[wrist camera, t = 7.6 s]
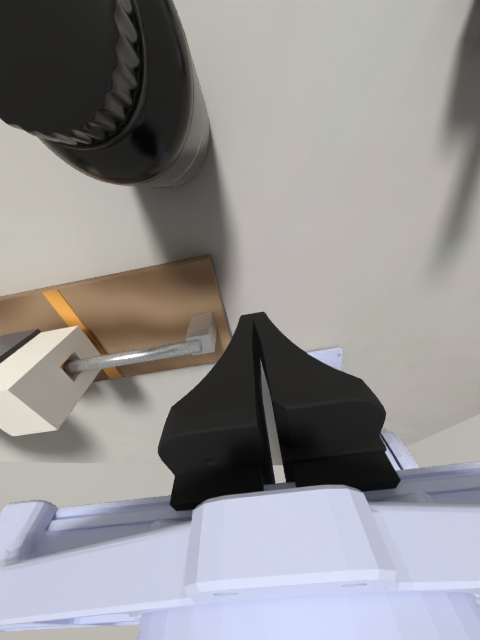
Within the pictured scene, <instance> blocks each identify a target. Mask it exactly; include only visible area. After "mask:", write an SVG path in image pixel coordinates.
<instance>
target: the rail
mask: <svg viewBox="0 0 480 640" xmlns="http://www.w3.org/2000/svg"><path fill="white" fill-rule="evenodd" d="M216 333H217V324H216V321H215V317H214V314H213V311H212V310H211V311H205V312H199V313H194V314H193V315H192V318H191V322H190V325H189V328H188V331H187V335H186V338H185V339H186V341H181V342H176V343H170V344H164V345H158V346H152V347H146V348H140V349H134V350H129V351H123V352H117V353H111V354H105V355H99V356H93V357H87V358H82V359H76V360H66V361H65V362H64V363H63V364H62V365H61V366H60V368H61V369H62V370H63V371H64V372H65V373H66V374H67V375H71V374H73V373H78V372H84V371H90V370H96V369H102V368H109V367H115V366H121V365H127V364H133V363H139V362H145V361H151V360H157V359H163V358H169V357H175V356H181V355H188V354H192V355H199V354H205V353H211V352H214V351H215V342H216Z"/></svg>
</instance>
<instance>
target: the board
mask: <svg viewBox="0 0 480 640" xmlns="http://www.w3.org/2000/svg"><path fill="white" fill-rule="evenodd" d="M211 310H212V311H213V314H214V317H215V321H216V324H217V333H216V342H215V351H214V352H211V353H205V354H199V355H192V354H188V355H181V356H175V357H169V358H163V359H157V360H151V361H145V362H139V363H133V364H127V365H121V366H115V367H109V368H102V369H101V370H100V372H99V373H98V375H97V376H96V377H95V379H94V380H93V382H95V381H101V380H107V379H117V378H122V377H126V376H132V375H138V374H145V373H151V372H157V371H163V370H170V369H176V368H182V367H188V366H195V365H201V364H207V363H213V362H218V360H219V359H220V358H221V356H222V355H223V353H224V351H225V350H226V348H227V346H228V344H229V343H230V341H231V339H232V335H231V331H230V327H229V323H228V319H227V316H226V312H225V308H224V304H223V301H222V297H221V293H220V289H219V286H218V282H217V278H216V274H215V271H214V267H213V263H212V259H211V256H210V254H209V255H204V256H199V257H195V258H190V259H185V260H180V261H175V262H170V263H165V264H160V265H155V266H150V267H145V268H140V269H135V270H130V271H125V272H120V273H115V274H110V275H105V276H100V277H95V278H90V279H86V280H81V281H76V282H71V283H66V284H61V285H56V286H51V287H46V288H41V289H36V290H31V291H26V292H21V293H16V294H11V295H6V296H1V297H0V337H1V336H3V335H6V334H11V333H17V332H22V331H27V330H33V329H39V330H40V331H41V332H46V331H51V330H57V329H62V328H68V327H73V326H79V327H80V328H81V329H82V331H83V332H84V333H85V335H86V336H87V337H88V339H89V340H90V341H91V343H92V344H93V345H94V347H95V348H96V349H97V350H98V352H99V353H100V354H101V355H105V354H111V353H117V352H123V351H129V350H134V349H140V348H146V347H152V346H158V345H164V344H170V343H176V342H181V341H186V339H185V338H186V335H187V331H188V328H189V325H190V322H191V318H192V315H193V314H194V313H199V312H205V311H211Z"/></svg>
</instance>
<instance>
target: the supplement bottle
mask: <svg viewBox="0 0 480 640" xmlns="http://www.w3.org/2000/svg"><path fill="white" fill-rule="evenodd" d="M0 118H1V119H2V120H3V121H4V122H5V123H7V124H8V125H10V126H12V127H14V128H18V129H21V130H24V131H26V132H28V133H30V134H32V135H34V136H37V137H38V138H39V139H40V140H41V141H42V142H43V143H44V144H45V145H46V146H47V147H48V148H49V149H50V150H51V151H52V152H53V153H54V154H56V155H57V156H58V157H59V158H60V159H62V160H63V161H64V162H66V163H67V164H68V165H70V166H71V167H73V168H75V169H76V170H78V171H80V172H81V173H83V174H85V175H87V176H89V177H92V178H94V179H97V180H100V181H102V182H106V183H111V184H116V185H124V186H146V187H174V186H178V185H181V184H183V183H185V182H187V181H189V180H190V179H191V178H192V177H194V176H195V174H196V173H197V172H198V171H199V169H200V168H201V166H202V164H203V162H204V160H205V157H206V154H207V150H208V145H209V120H208V114H207V109H206V105H205V101H204V98H203V94H202V91H201V87H200V84H199V80H198V77H197V74H196V70H195V67H194V63H193V60H192V56H191V53H190V50H189V46H188V43H187V39H186V36H185V33H184V30H183V27H182V24H181V21H180V18H179V15H178V13H177V10H176V8H175V5H174V3H173V0H0Z"/></svg>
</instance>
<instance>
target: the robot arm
mask: <svg viewBox="0 0 480 640" xmlns="http://www.w3.org/2000/svg"><path fill="white" fill-rule="evenodd" d="M337 354H338V355H337ZM342 356H343V350H342V349H341V348H332V349H326V350H319V351H313V352H307V353H306V352H305V351H303V350H302V349H300V348H299V347H298V346H296V345H295V344H294V343H292V342H291V341H290V340H289V339H288V338H287V337H286V336H284V335H283V334H282V333H281V332H280V331H279V330H278V328H277V327H276V326H275V325H274V324H273V323H272V322H271V320H270V319H269V318H268V316H267V315H266V313H265V312H258V313H253V314H247V315H242V316H241V317H240V319H239V323H238V325H237V328H236V330H235V333H234V335H233V337H232V339H231V341H230V343H229V344H228V346H227V348H226V350H225V351H224V353H223V355H222V356H221V358H220V359H219V360H218V362H217V363H216V364H215V366H214V367H213V368H212V369H211V371H210V372H209V373H208V374H207V375H206V376H205V378H204V379H203V380H202V381H201V382H200V383H199V384H198V385H197V386H196V387H195V388H194V389H192V390H191V391H190V392H189V393H188V394H187V395H186V396H184V397H183V398H182V399H181V400H180V401H178V402H177V403H176V404H175V405H173V406H172V407H171V409H170V412H169V415H168V417H167V419H166V422H165V425H164V428H163V432H162V435H161V439H160V442H159V446H158V454H159V456H160V458H161V460H162V461H163V462H164V463H165V464H166V466H167V467H168V468H169V469H170V470H171V471H172V473H173V474H174V475H175V479H174V484H173V489H172V494H171V495H169V496H161V497H152V498H142V499H133V500H124V501H115V502H106V503H98V504H88V505H79V506H70V507H60V508H57V507H56V506H55V505H54V504H52V503H50V502H47V501H43V500H31V501H22V502H15V503H10V504H7V505H6V506H5V508H4V510H3V511H2V512H1V513H0V632H1V631H17V630H18V631H19V630H34V629H35V630H36V629H55V628H76V627H98V626H119V625H140V626H139V631H138V636H137V640H480V607H479V605H478V604H480V461H477V462H468V463H459V464H450V465H441V466H432V467H423V468H419V467H418V465H417V463H416V462H415V460H414V459H413V458H412V456H411V454H410V453H409V451H408V450H407V448H406V447H405V446H404V444H403V443H402V441H401V440H400V439H399V438H398V436H397V435H396V434H395V433H393V432H391V431H388V430H387V429H385V428H382V427H383V424H384V421H385V418H386V411H385V409H384V407H383V405H382V404H381V402H380V401H379V399H378V398H377V397H376V395H375V394H374V393H373V392H372V391H371V389H370V388H369V387H368V386H367V385H366V384H365V383H364V381H363V380H362V379H360V378H357V377H355V376H352V375H350V374H347V373H345V372H342V371H341V364H342ZM260 359H261V362H262V366H263V370H264V373H265V377H266V380H267V384H268V388H269V391H270V396H271V400H272V406H273V412H274V417H275V423H276V428H277V434H278V440H279V445H280V451H281V456H282V462H283V467H284V473H285V478H286V483H278V484H275V478H274V471H273V465H272V458H271V452H270V445H269V439H268V432H267V426H266V419H265V412H264V405H263V398H262V384H261V365H260Z"/></svg>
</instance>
